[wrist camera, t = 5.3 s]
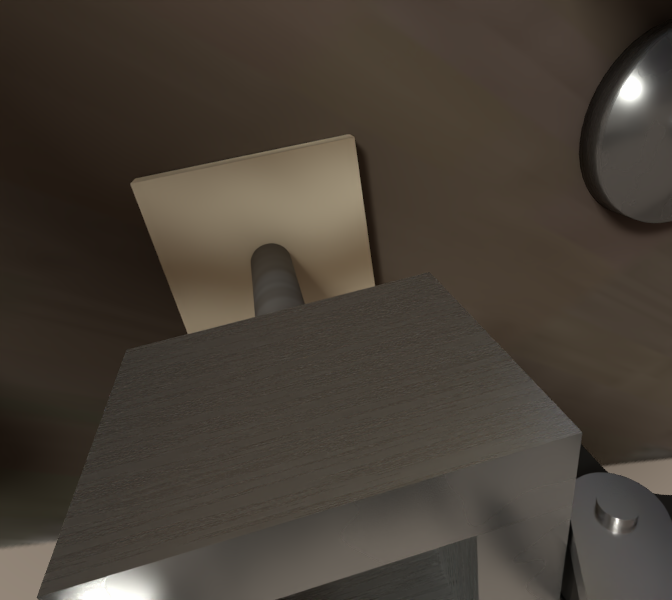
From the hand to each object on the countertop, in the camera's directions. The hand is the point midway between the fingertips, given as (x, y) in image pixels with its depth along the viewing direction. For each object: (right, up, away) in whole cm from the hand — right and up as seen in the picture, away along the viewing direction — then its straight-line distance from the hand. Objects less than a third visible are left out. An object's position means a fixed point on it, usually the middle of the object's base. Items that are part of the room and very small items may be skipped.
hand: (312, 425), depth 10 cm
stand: (-3, +5, +11) cm, 12 cm away
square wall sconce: (0, 0, 0) cm, 0 cm away
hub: (+16, +11, +12) cm, 23 cm away
